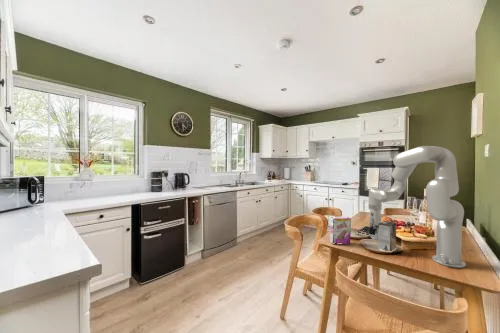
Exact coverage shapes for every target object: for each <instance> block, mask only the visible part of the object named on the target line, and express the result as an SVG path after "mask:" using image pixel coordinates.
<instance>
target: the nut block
mask: <svg viewBox="0 0 500 333" xmlns="http://www.w3.org/2000/svg"><path fill="white" fill-rule="evenodd" d="M374 229H375V235H371V234H370V236H369V238H370V237H371V238H372V239H371V240H375V239H376V240H375V241H378V227H375V228H374Z"/></svg>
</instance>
